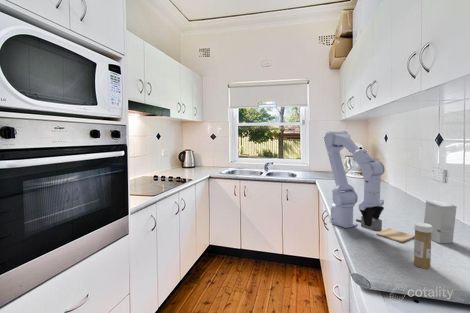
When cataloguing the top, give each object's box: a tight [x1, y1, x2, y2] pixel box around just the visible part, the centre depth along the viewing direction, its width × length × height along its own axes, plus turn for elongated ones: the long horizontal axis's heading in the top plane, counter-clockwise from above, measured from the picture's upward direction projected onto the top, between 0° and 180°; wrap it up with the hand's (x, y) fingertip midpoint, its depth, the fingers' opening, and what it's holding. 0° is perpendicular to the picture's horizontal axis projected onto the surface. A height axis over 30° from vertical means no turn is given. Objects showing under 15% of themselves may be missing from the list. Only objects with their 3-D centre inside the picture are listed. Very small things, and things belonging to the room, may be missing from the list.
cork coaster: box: [376, 228, 415, 244], centre depth 106 cm, size 10×10×1 cm
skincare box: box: [423, 199, 457, 244], centre depth 101 cm, size 8×6×15 cm
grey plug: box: [355, 215, 383, 233], centre depth 106 cm, size 10×4×4 cm, turn 32°
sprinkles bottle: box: [413, 221, 432, 270], centre depth 82 cm, size 5×5×13 cm
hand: (370, 224), depth 105 cm, fingers closed on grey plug, 4 cm apart
